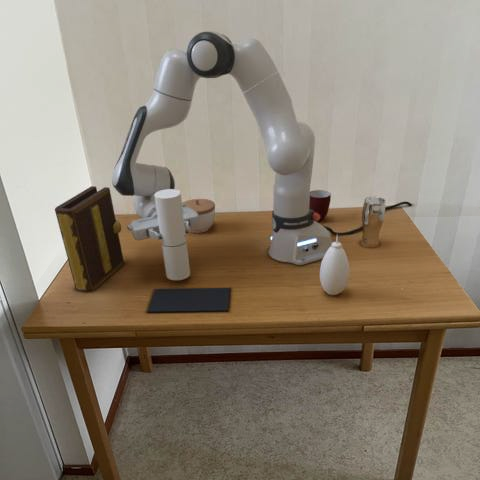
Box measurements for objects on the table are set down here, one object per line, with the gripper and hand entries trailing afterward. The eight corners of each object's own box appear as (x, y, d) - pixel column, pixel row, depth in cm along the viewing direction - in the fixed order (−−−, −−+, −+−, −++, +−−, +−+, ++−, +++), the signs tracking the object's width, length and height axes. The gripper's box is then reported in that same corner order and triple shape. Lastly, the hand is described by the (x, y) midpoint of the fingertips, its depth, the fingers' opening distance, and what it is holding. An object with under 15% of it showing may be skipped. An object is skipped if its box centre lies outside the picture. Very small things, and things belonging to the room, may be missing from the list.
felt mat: (230, 289, 142) (230, 287, 142) (227, 311, 132) (227, 310, 132) (155, 290, 143) (154, 288, 143) (147, 312, 133) (147, 311, 133)
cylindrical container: (192, 268, 149) (182, 188, 135) (187, 280, 144) (177, 198, 130) (169, 268, 150) (157, 189, 136) (164, 280, 144) (151, 198, 130)
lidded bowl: (203, 238, 172) (200, 208, 165) (175, 231, 177) (171, 202, 171) (223, 225, 180) (221, 196, 174) (195, 219, 186) (193, 191, 180)
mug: (300, 224, 178) (301, 198, 173) (300, 216, 185) (300, 190, 179) (330, 224, 177) (331, 197, 172) (328, 215, 184) (329, 189, 178)
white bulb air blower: (314, 289, 140) (317, 230, 130) (339, 284, 142) (344, 226, 132) (325, 302, 134) (329, 242, 124) (351, 297, 135) (358, 237, 125)
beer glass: (357, 246, 161) (361, 203, 153) (361, 238, 167) (365, 195, 158) (378, 249, 159) (384, 205, 151) (382, 240, 164) (387, 197, 156)
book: (94, 293, 143) (75, 212, 129) (70, 289, 146) (48, 209, 132) (131, 259, 160) (117, 184, 146) (108, 256, 163) (93, 182, 149)
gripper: (123, 215, 144) (136, 231, 133) (188, 201, 151) (205, 215, 140) (127, 234, 147) (140, 252, 137) (190, 220, 154) (207, 236, 144)
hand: (174, 233), depth 139 cm, fingers closed on cylindrical container, 7 cm apart
